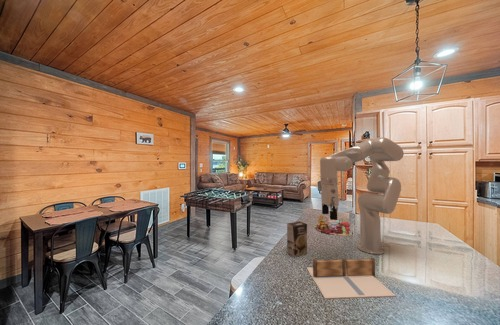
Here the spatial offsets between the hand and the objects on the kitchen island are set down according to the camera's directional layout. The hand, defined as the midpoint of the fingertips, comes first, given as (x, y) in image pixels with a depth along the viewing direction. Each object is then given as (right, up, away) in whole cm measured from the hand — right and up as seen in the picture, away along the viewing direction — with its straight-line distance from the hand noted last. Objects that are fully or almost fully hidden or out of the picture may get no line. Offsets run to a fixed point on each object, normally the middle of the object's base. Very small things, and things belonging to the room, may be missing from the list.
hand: (329, 216), depth 93 cm
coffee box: (-13, -23, +9) cm, 28 cm away
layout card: (0, -22, -15) cm, 27 cm away
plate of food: (+22, -23, +46) cm, 56 cm away
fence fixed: (-5, -22, -12) cm, 25 cm away
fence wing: (+9, -22, -12) cm, 26 cm away
